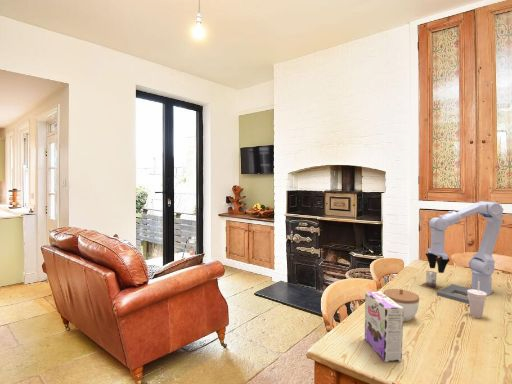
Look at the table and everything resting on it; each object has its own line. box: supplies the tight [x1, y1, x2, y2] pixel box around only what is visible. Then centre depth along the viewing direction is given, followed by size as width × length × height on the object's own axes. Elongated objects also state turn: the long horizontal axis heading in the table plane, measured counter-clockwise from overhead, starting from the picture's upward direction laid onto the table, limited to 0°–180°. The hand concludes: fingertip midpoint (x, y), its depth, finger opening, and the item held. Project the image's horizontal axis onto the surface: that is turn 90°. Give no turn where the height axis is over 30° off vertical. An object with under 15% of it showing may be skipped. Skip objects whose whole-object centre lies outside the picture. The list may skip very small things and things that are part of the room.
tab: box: [418, 282, 443, 291], centre depth 155 cm, size 8×8×1 cm
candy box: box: [364, 290, 404, 363], centre depth 98 cm, size 14×6×16 cm, turn 5°
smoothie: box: [467, 281, 488, 319], centre depth 123 cm, size 6×6×14 cm
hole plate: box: [436, 283, 487, 307], centre depth 143 cm, size 18×14×3 cm
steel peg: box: [425, 270, 438, 288], centre depth 155 cm, size 4×4×7 cm
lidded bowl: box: [383, 288, 420, 322], centre depth 122 cm, size 13×13×11 cm
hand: (436, 270), depth 150 cm, fingers open, 7 cm apart
